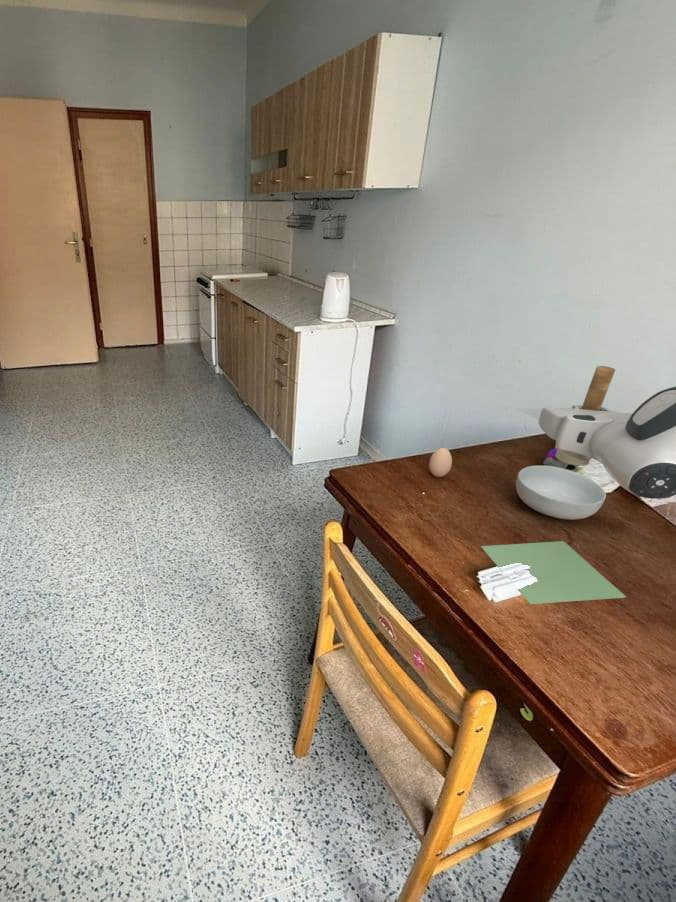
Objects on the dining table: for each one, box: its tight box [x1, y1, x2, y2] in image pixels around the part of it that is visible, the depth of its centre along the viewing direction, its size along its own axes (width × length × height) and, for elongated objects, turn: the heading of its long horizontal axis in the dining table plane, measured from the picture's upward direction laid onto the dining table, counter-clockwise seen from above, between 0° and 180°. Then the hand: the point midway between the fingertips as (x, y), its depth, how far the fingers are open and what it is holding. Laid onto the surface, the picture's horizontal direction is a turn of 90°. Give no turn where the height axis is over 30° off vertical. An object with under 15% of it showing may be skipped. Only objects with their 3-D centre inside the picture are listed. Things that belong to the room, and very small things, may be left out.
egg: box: [428, 447, 453, 478], centre depth 121 cm, size 5×5×8 cm
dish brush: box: [555, 365, 616, 467], centre depth 96 cm, size 6×6×20 cm
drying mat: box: [480, 540, 627, 605], centre depth 91 cm, size 18×16×1 cm
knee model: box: [542, 445, 587, 476], centre depth 127 cm, size 9×8×25 cm
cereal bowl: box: [515, 465, 607, 521], centre depth 108 cm, size 17×17×7 cm
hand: (587, 409), depth 96 cm, fingers closed on dish brush, 3 cm apart
